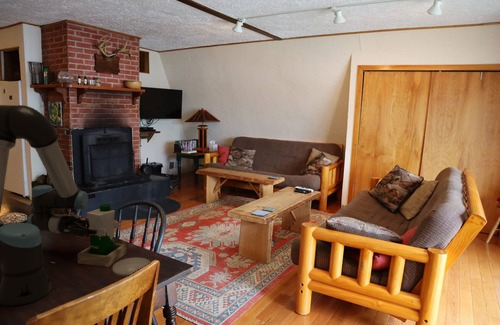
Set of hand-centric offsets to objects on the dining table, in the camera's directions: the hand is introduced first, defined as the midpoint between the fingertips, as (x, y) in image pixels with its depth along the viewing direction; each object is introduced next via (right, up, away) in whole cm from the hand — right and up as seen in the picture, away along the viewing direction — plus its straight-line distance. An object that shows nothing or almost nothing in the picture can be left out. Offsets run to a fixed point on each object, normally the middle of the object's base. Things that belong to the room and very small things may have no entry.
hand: (111, 228), depth 145 cm
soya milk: (-5, -11, +2) cm, 12 cm away
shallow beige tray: (-5, -13, +3) cm, 14 cm away
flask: (-31, -8, +30) cm, 44 cm away
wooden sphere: (-48, -6, +39) cm, 62 cm away
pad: (+10, -14, -5) cm, 18 cm away
